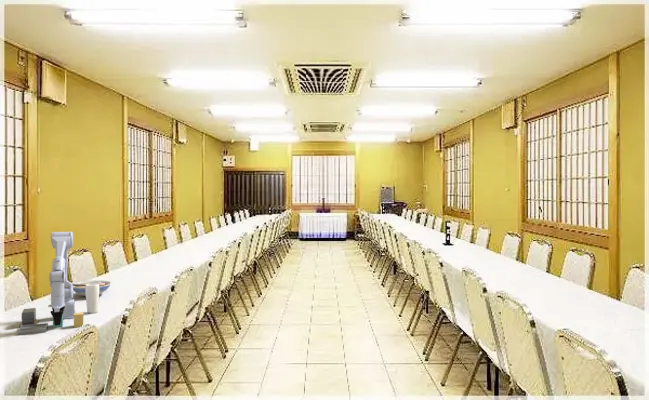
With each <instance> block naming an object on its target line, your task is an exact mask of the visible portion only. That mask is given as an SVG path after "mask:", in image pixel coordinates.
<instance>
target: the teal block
mask: <svg viewBox="0 0 649 400" xmlns="http://www.w3.org/2000/svg"><path fill="white" fill-rule="evenodd" d="M63 326H64V319H63V314H62V317H61V323H60V325H56V326H55V324H54V319H53V318H52V328H53V329H56V328H63Z"/></svg>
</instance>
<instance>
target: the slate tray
mask: <svg viewBox="0 0 649 400" xmlns="http://www.w3.org/2000/svg"><path fill="white" fill-rule="evenodd" d="M48 327H49V323H48V322H43V323H37V324H32V325H22V326H21V327H20V328H19V329H18V331H17V336H23V335H33V334H41V333H46V332H47V331H48Z"/></svg>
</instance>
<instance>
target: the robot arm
mask: <svg viewBox="0 0 649 400" xmlns="http://www.w3.org/2000/svg"><path fill="white" fill-rule="evenodd" d="M50 243H51V247H52V248H53V249H55V257H54V258H53V259H52V264H51V271H50V272H49V273H48V274H49V276H48V277H49V278H48V279H49V287H50V304H48V305H47V306H48V308H51V310H50V311H49V312H50V314H51V316H52V320H53V319H54V324H55V326H56V325H60V323H61V317H62V314H63V320H66V319H74V313H76V308H75V307H76V305H75V299H74V291H73V285H72V284H73V283H72V282H70V281H69V280H68V261H69V260H68V256H69V255H68V254H69V250H70V249H72V248H73V246H74V232H73V231H52V232H51V233H50Z"/></svg>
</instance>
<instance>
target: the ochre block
mask: <svg viewBox="0 0 649 400" xmlns="http://www.w3.org/2000/svg"><path fill="white" fill-rule="evenodd" d="M82 325H83V326H84V312H75V313H74V318H73V328H81V327H80V326H82Z"/></svg>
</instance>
